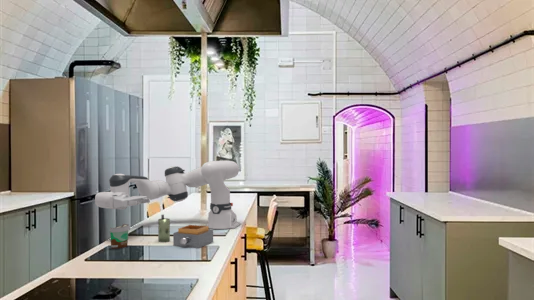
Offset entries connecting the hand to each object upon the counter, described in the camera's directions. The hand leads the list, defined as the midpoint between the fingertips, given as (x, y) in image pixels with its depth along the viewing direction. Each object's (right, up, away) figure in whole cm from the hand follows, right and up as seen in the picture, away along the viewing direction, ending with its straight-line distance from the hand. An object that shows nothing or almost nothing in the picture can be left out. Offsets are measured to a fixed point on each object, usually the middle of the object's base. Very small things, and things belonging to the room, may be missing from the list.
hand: (143, 201), depth 230 cm
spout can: (+11, -19, -4) cm, 23 cm away
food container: (-5, -19, -17) cm, 26 cm away
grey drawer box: (+27, -19, -12) cm, 35 cm away
